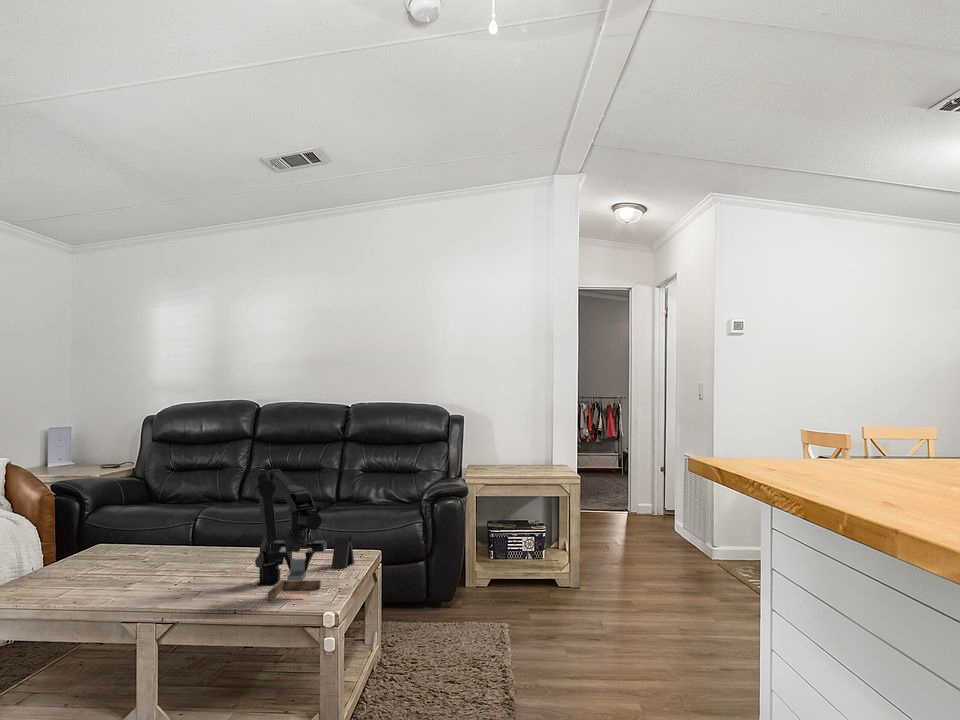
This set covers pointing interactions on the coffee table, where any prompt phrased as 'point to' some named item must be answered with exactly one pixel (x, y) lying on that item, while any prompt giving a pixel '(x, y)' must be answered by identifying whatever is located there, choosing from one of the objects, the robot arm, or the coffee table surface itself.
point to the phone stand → (342, 552)
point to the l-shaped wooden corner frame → (293, 586)
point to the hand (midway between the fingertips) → (298, 570)
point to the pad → (296, 595)
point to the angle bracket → (297, 569)
